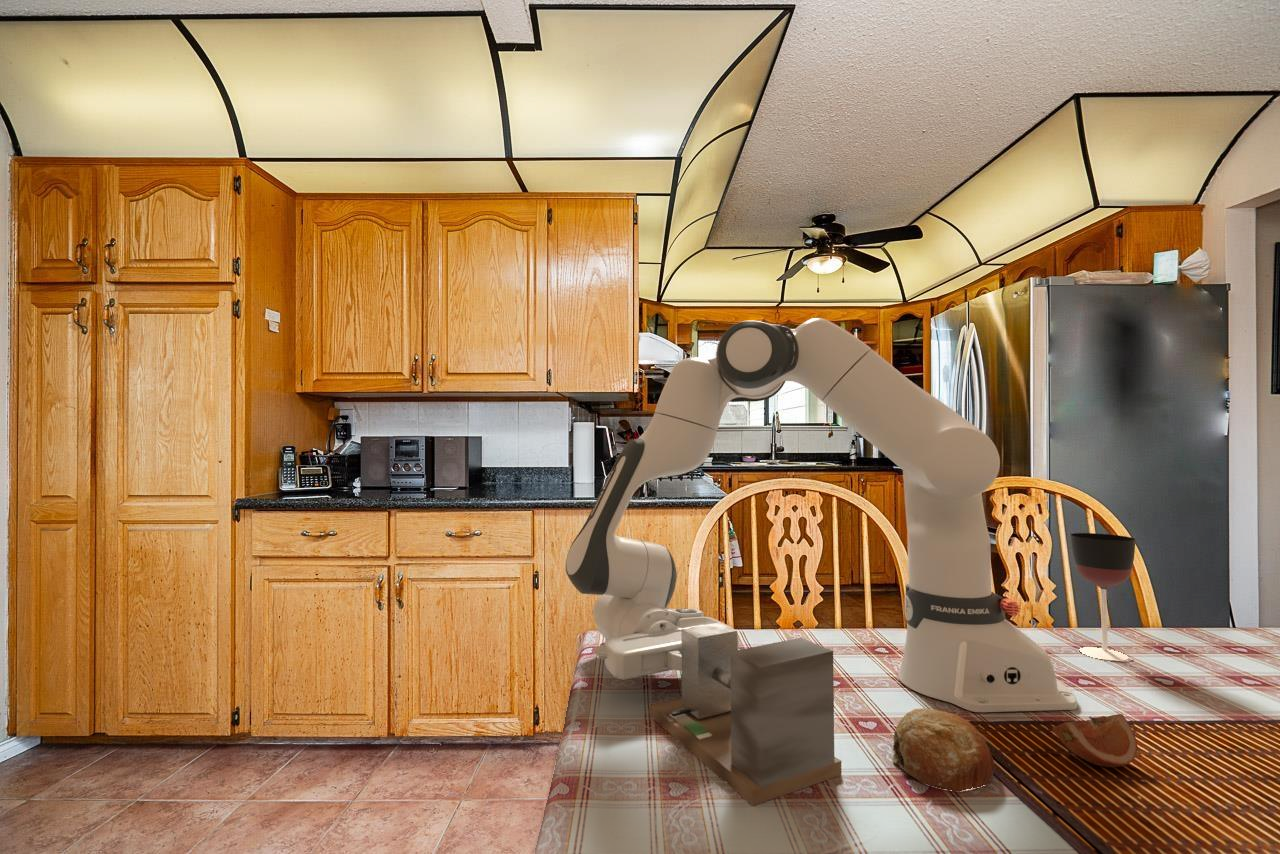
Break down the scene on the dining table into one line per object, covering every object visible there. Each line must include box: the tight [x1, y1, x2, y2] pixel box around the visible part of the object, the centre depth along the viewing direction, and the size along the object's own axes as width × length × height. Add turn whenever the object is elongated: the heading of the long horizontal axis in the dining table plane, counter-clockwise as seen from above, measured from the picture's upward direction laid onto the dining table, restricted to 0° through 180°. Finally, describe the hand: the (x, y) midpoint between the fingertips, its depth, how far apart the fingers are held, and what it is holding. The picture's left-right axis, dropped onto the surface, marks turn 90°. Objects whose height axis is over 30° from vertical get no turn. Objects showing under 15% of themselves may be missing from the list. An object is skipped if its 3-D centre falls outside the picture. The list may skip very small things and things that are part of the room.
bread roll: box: [892, 708, 996, 791], centre depth 66 cm, size 10×10×8 cm
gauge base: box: [648, 637, 842, 807], centre depth 71 cm, size 22×12×14 cm, turn 27°
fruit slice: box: [1052, 713, 1138, 768], centre depth 67 cm, size 8×7×5 cm
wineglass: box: [1070, 532, 1136, 660], centre depth 101 cm, size 8×9×20 cm
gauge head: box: [671, 621, 738, 719], centre depth 74 cm, size 7×9×10 cm
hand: (701, 667), depth 78 cm, fingers closed, pressing on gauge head
